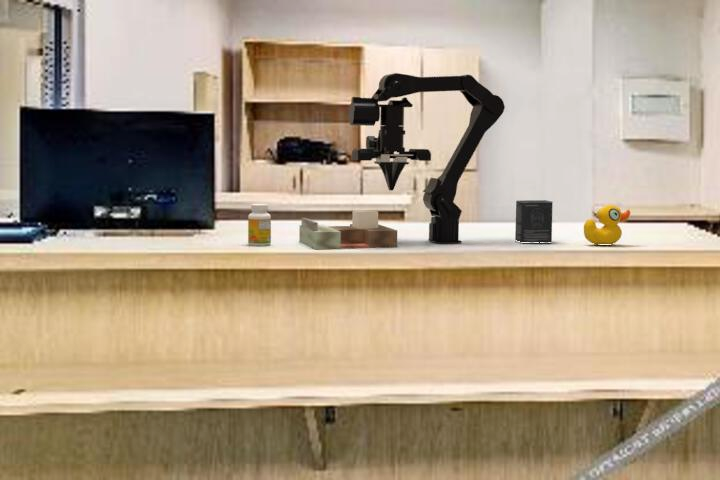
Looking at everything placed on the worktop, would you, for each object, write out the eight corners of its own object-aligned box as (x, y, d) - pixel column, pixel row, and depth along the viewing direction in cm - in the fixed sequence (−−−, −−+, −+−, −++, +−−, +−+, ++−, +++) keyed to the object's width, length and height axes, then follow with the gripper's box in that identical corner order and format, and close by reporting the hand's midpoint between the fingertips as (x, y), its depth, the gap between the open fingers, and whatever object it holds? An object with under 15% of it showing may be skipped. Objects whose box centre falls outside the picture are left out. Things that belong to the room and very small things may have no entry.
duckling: (624, 244, 234) (626, 204, 233) (632, 246, 229) (634, 206, 228) (580, 244, 233) (581, 204, 232) (587, 246, 228) (588, 205, 227)
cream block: (371, 226, 231) (372, 210, 231) (378, 228, 226) (378, 211, 226) (352, 226, 230) (352, 210, 229) (358, 228, 225) (358, 212, 224)
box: (544, 241, 239) (545, 199, 237) (551, 244, 233) (553, 201, 232) (514, 241, 237) (515, 199, 236) (521, 244, 232) (522, 201, 231)
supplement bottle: (244, 244, 225) (244, 203, 224) (265, 243, 227) (265, 203, 226) (253, 246, 220) (253, 205, 219) (274, 245, 223) (274, 204, 222)
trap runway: (376, 239, 238) (376, 215, 237) (397, 247, 223) (397, 222, 222) (299, 241, 232) (299, 217, 231) (315, 249, 217) (315, 223, 216)
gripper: (416, 126, 237) (415, 188, 239) (345, 125, 232) (345, 188, 234) (432, 126, 227) (431, 190, 229) (359, 125, 221) (358, 191, 223)
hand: (390, 190), depth 229 cm, fingers closed
